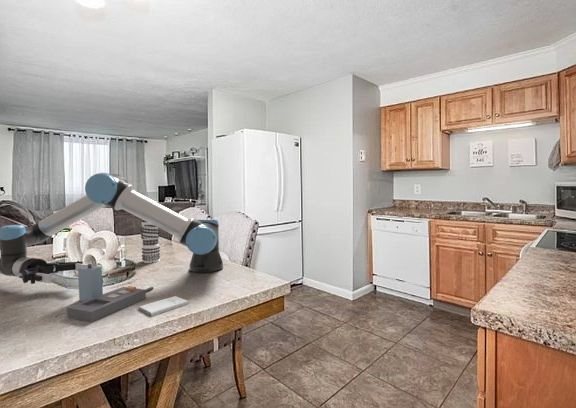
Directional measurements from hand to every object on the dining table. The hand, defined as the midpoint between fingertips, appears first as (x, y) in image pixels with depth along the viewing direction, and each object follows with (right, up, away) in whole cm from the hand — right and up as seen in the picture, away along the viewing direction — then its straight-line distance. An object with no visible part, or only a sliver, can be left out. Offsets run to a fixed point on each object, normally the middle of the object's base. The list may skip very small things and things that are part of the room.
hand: (70, 273), depth 110 cm
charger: (+9, -8, -3) cm, 13 cm away
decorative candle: (+6, -5, +52) cm, 52 cm away
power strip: (+21, -8, -6) cm, 23 cm away
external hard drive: (+37, -9, -10) cm, 39 cm away
